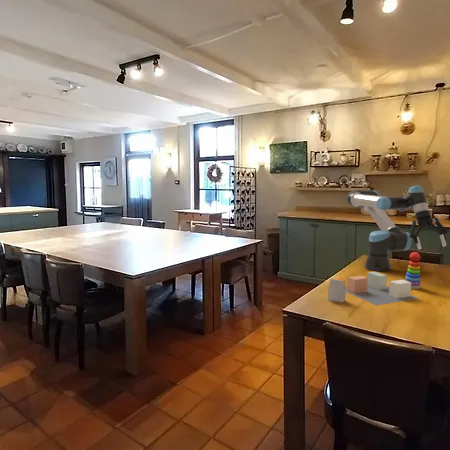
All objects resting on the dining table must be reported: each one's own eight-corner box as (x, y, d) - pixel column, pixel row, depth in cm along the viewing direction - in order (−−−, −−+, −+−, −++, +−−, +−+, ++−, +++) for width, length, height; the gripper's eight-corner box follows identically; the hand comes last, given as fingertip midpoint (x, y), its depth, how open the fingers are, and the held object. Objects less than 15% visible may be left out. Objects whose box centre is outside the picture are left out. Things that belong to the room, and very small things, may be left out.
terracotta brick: (354, 293, 178) (355, 279, 178) (347, 290, 183) (348, 277, 182) (367, 291, 181) (368, 278, 180) (360, 288, 186) (360, 275, 185)
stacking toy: (401, 287, 190) (404, 252, 187) (406, 284, 195) (408, 249, 193) (418, 290, 184) (420, 254, 182) (422, 287, 190) (425, 252, 187)
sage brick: (367, 285, 192) (367, 272, 191) (374, 284, 194) (375, 271, 193) (378, 289, 184) (379, 276, 183) (386, 288, 186) (386, 275, 185)
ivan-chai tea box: (341, 303, 166) (342, 282, 164) (327, 300, 170) (328, 279, 169) (345, 301, 169) (346, 280, 167) (331, 298, 173) (332, 277, 172)
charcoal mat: (338, 289, 187) (338, 288, 187) (378, 283, 196) (378, 283, 196) (375, 306, 163) (375, 305, 162) (419, 299, 172) (419, 298, 172)
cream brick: (397, 298, 171) (398, 284, 170) (389, 295, 176) (389, 281, 175) (410, 296, 174) (411, 282, 173) (401, 293, 179) (402, 279, 178)
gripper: (402, 212, 206) (412, 248, 199) (447, 206, 205) (458, 243, 198) (397, 216, 213) (407, 251, 206) (440, 211, 212) (451, 246, 206)
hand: (432, 247), depth 202 cm, fingers open, 13 cm apart
